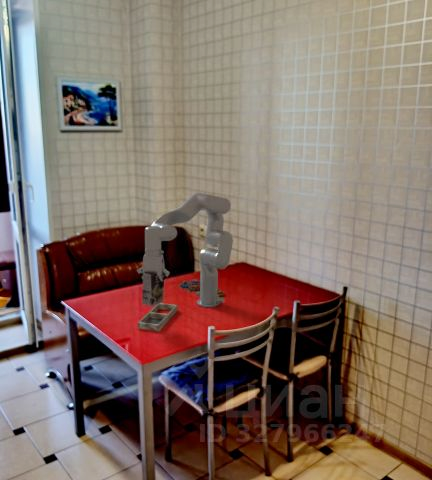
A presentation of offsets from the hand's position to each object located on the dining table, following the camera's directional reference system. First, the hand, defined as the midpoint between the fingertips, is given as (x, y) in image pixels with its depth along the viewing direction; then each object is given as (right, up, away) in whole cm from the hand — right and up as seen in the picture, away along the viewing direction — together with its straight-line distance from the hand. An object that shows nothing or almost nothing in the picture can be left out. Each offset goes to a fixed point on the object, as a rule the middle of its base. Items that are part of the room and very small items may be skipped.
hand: (153, 287), depth 222 cm
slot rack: (+1, -17, +11) cm, 21 cm away
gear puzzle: (+23, -8, +54) cm, 59 cm away
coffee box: (-1, -8, +2) cm, 8 cm away
